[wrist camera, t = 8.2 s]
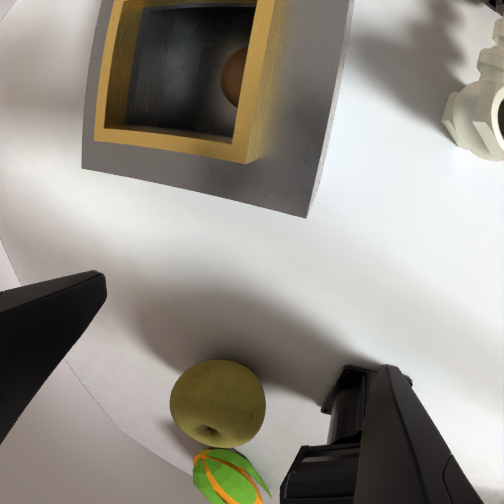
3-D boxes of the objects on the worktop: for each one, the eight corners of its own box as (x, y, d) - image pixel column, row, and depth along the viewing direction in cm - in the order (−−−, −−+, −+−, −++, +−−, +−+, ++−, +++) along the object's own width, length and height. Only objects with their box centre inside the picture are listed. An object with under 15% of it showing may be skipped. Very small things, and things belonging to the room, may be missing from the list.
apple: (279, 403, 27) (259, 464, 21) (203, 393, 29) (174, 445, 23) (270, 345, 24) (244, 413, 18) (184, 337, 26) (143, 392, 20)
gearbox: (318, 186, 18) (301, 231, 11) (147, 150, 20) (61, 174, 13) (357, -21, 12) (358, -95, 5) (178, -28, 14) (105, -70, 7)
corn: (217, 489, 25) (273, 534, 31) (243, 438, 31) (288, 497, 37) (166, 474, 28) (232, 525, 34) (193, 430, 34) (248, 491, 40)
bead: (252, 112, 17) (302, 122, 15) (200, 106, 15) (248, 113, 12) (263, 55, 16) (314, 56, 13) (212, 40, 13) (262, 34, 11)
